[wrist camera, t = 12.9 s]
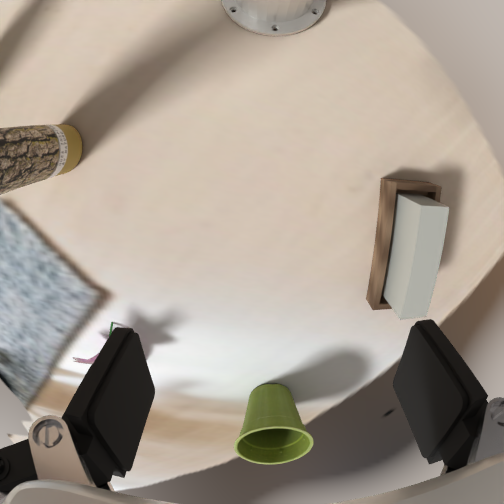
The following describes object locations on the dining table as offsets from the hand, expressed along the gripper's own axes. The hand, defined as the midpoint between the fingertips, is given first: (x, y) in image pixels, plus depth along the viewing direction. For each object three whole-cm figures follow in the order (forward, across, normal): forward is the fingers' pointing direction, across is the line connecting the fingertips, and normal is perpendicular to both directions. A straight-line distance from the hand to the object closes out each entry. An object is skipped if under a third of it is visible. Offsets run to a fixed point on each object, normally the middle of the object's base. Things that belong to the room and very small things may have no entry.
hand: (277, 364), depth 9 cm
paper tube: (+28, +26, -8) cm, 39 cm away
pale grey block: (+27, -18, +6) cm, 33 cm away
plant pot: (+28, -2, +34) cm, 44 cm away
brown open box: (+28, -19, +6) cm, 34 cm away
